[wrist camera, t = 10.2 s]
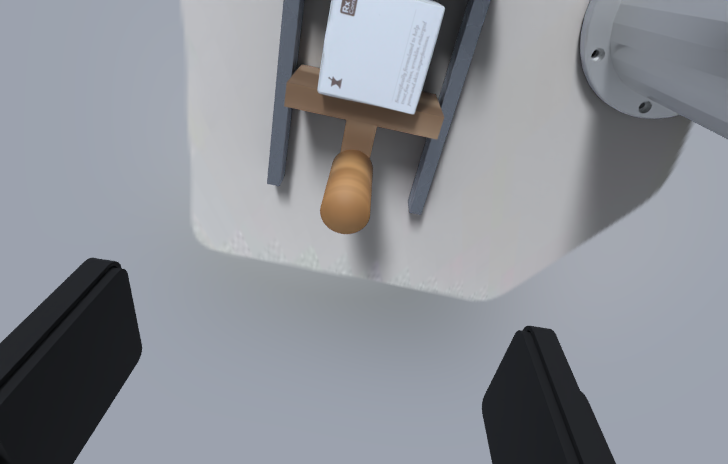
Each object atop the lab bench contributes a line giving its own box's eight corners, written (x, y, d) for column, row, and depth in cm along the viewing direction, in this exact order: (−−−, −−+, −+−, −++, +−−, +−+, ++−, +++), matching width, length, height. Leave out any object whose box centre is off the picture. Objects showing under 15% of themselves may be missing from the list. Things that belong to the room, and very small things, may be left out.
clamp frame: (419, 203, 36) (424, 241, 31) (272, 173, 35) (253, 208, 30) (497, -45, 27) (524, -47, 22) (298, -95, 26) (277, -109, 21)
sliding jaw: (413, 169, 34) (424, 249, 25) (292, 143, 34) (254, 216, 24) (435, 94, 31) (458, 153, 21) (301, 64, 30) (262, 111, 21)
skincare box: (409, 87, 31) (416, 118, 25) (329, 69, 31) (315, 95, 25) (434, -4, 28) (448, 5, 22) (345, -27, 28) (332, -24, 21)
